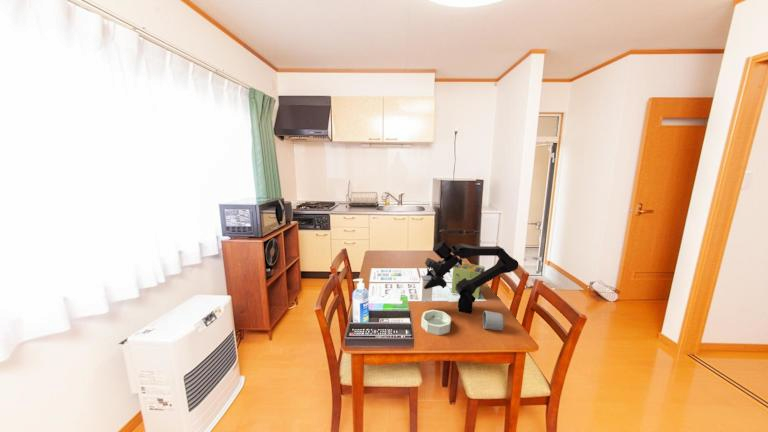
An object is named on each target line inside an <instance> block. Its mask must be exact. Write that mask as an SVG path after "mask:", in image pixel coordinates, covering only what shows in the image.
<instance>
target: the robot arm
mask: <svg viewBox="0 0 768 432" xmlns="http://www.w3.org/2000/svg"><path fill="white" fill-rule="evenodd" d="M432 252H434V253H435V254H436V255H437V256H438V257H439V258H440V260H438V261H436V260H435V259H432V258H430V257H427V258H426V261H425V262H424V264H425V266H426V274H425V276H431V280H430V281H429V282H428V283H427V284H426V285H425V287H424V289H428V288H432V289H433V288H435V287H441V288H442V289H444V288H446V287H447V281H446V280H445V279H444V278H445V275H446V274H450V273H451V270H453V267H454V266H455V265H456V264H457V263H459V264H460V265H462V262H463V260H464V259H470V258H472V257H475V256H477V257H481V256H482V257H484V256H485V257H487V256H490V257H492V256H493V257H494V256H495V257H496V256H497V257H498V260H497V261H496V264H495V265H493V266H491V267H490V268H488V269H486V270H484V272H483V273H481V274H479V275H478V276H476V277H474V278H473V279H471V280H467V279H466V278H464V279H463V280H461V281H458V282H459V283H457V284H456V291H457V292H458V293H457V294H458V296H459V298H458V302H457V309H458V311H459V312H462V313H466V314H473V304H474V303H475V301H476V300H477V299H476V298H475V297H474V296H473V295H472V294H473V293H474V292H475V290H476V289H477V288H478V287H480V286H481V285H483V286H484V285H485V284H486V283H488V282H490V281H491V280H494V279H495V278H496V277H498V276H500V275H501V274H509V273H512V272H514V271H516V270H517V269H518V266H519V262H518V260H517V259H515V258H513V257H512V256H511V255H509V254H508V253H507V252H506V250H505V249H504V248H503V247H501V246H499V245H496V246H491V245H490V246H484V245H483V246H481V245H480V246H479V245H478V246H477V245H475V246H473V245H469V244H464V243H457V244H455V245H451V246H448V244H447V243H446V242H445V241H444V240H441V241H439V242H437V243H435V245H434V246H433V248H432Z"/></svg>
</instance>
